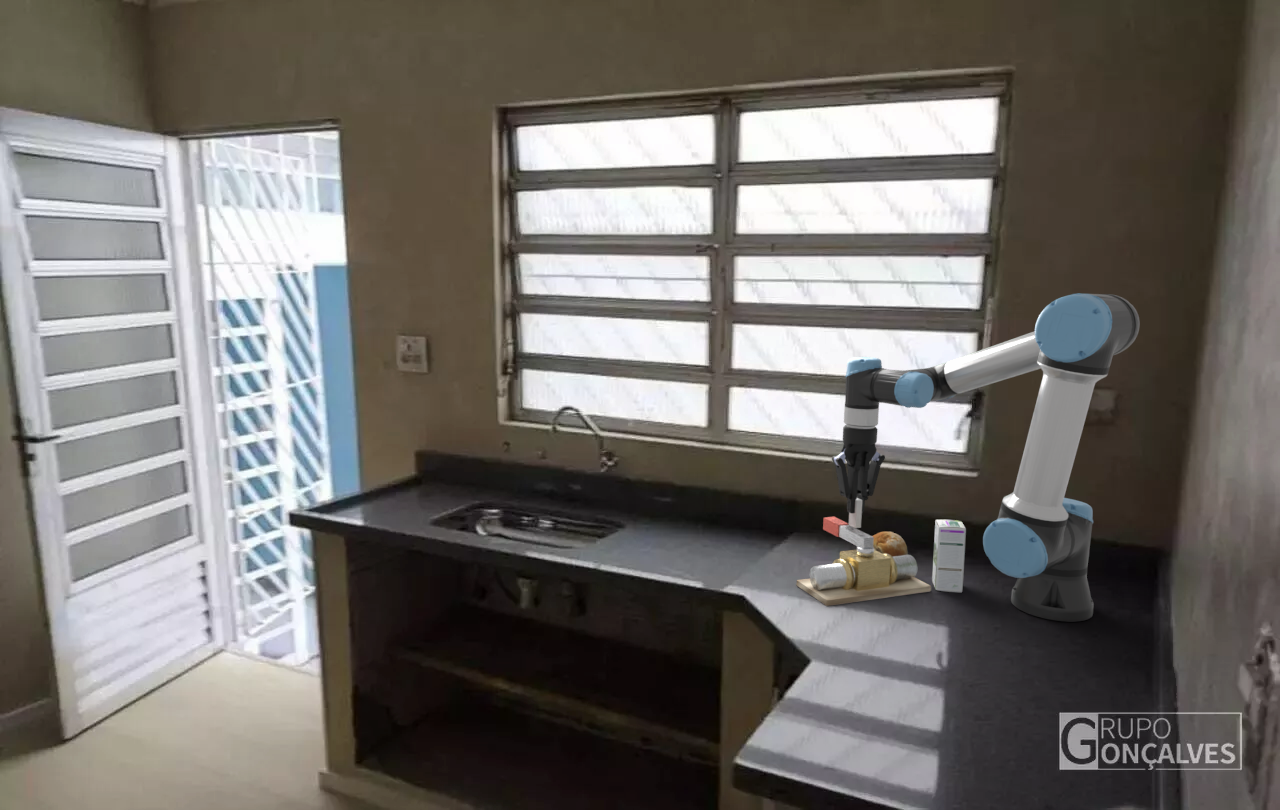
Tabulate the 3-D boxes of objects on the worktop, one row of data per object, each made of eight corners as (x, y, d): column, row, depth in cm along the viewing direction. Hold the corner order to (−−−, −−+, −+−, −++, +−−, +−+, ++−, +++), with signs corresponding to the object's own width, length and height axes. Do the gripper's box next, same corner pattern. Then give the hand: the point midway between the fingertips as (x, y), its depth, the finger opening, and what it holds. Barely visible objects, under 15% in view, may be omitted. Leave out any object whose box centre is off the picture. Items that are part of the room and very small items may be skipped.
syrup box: (963, 593, 177) (968, 527, 175) (934, 590, 178) (938, 525, 176) (958, 583, 182) (963, 520, 180) (930, 581, 184) (934, 518, 181)
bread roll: (904, 578, 195) (921, 549, 194) (866, 560, 195) (882, 531, 194) (892, 564, 205) (908, 536, 204) (856, 546, 204) (871, 518, 203)
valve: (899, 575, 186) (901, 544, 185) (919, 586, 179) (921, 554, 178) (806, 587, 178) (808, 555, 177) (824, 599, 171) (826, 565, 170)
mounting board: (930, 591, 178) (931, 585, 177) (826, 606, 169) (827, 600, 169) (895, 572, 189) (896, 567, 188) (796, 585, 180) (796, 580, 180)
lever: (877, 555, 176) (878, 537, 176) (863, 557, 175) (864, 538, 175) (834, 533, 192) (835, 516, 191) (821, 534, 190) (822, 517, 190)
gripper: (874, 421, 192) (868, 519, 196) (826, 424, 188) (821, 523, 191) (894, 427, 185) (888, 528, 189) (845, 429, 181) (839, 533, 184)
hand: (854, 526), depth 190 cm, fingers closed
